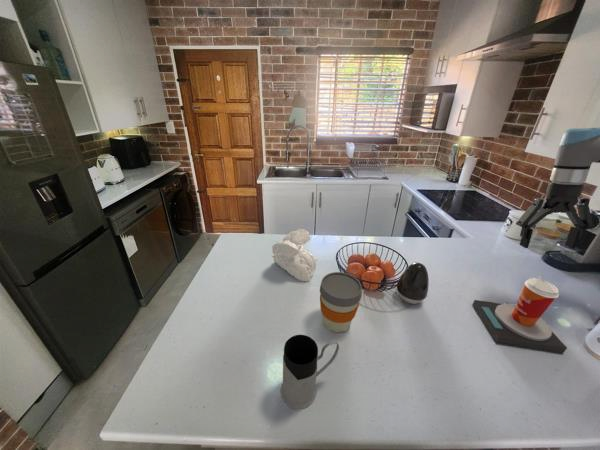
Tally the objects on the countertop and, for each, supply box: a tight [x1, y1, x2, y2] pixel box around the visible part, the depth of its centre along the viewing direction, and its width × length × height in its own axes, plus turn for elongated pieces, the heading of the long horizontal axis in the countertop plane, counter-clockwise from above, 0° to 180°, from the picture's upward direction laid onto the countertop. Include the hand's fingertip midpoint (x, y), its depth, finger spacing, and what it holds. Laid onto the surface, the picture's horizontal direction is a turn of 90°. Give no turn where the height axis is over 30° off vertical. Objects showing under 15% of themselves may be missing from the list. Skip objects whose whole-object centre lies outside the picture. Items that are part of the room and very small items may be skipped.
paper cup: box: [512, 277, 560, 327], centre depth 76 cm, size 8×8×14 cm
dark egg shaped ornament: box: [396, 262, 430, 305], centre depth 87 cm, size 10×10×15 cm
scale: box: [472, 299, 568, 354], centre depth 80 cm, size 18×16×4 cm
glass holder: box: [280, 334, 340, 411], centre depth 58 cm, size 9×14×15 cm, turn 112°
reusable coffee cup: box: [319, 271, 363, 333], centre depth 77 cm, size 13×13×15 cm
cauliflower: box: [271, 228, 318, 282], centre depth 102 cm, size 19×20×20 cm
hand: (546, 246), depth 82 cm, fingers open, 13 cm apart
